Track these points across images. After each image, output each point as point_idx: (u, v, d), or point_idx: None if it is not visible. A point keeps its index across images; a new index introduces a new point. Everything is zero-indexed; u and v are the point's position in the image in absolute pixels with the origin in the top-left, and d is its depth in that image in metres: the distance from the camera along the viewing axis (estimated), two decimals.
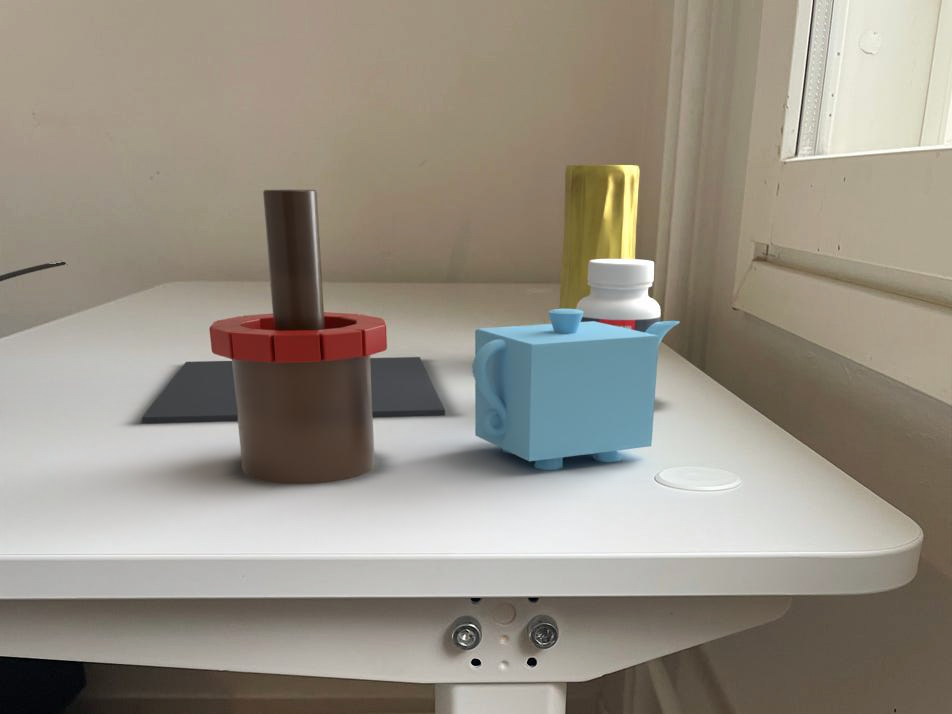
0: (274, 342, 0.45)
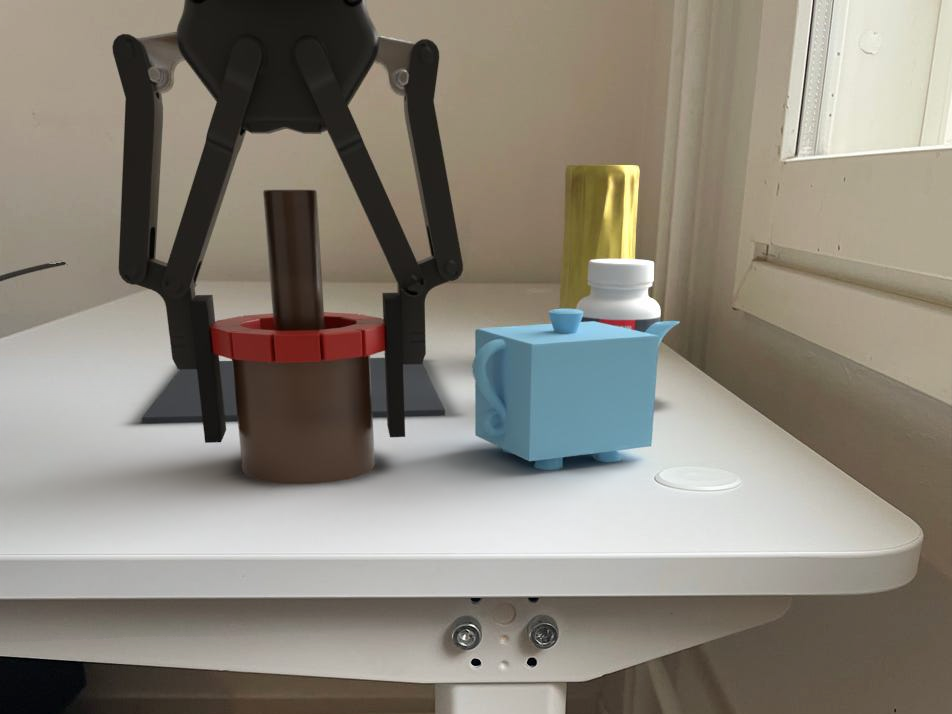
0: (274, 342, 0.45)
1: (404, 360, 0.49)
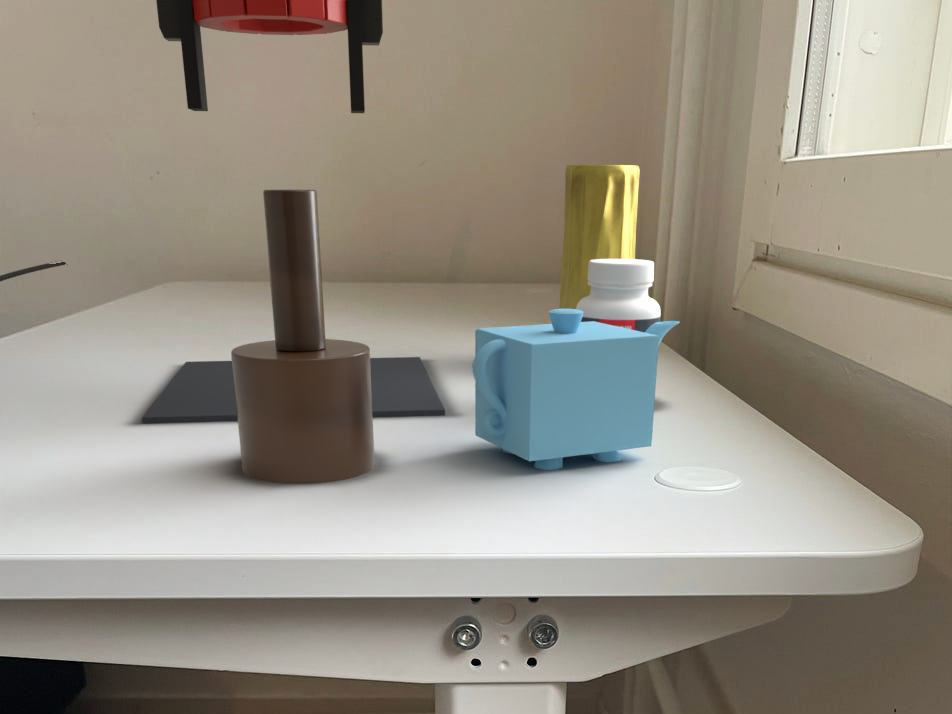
0: None
1: (364, 38, 0.56)
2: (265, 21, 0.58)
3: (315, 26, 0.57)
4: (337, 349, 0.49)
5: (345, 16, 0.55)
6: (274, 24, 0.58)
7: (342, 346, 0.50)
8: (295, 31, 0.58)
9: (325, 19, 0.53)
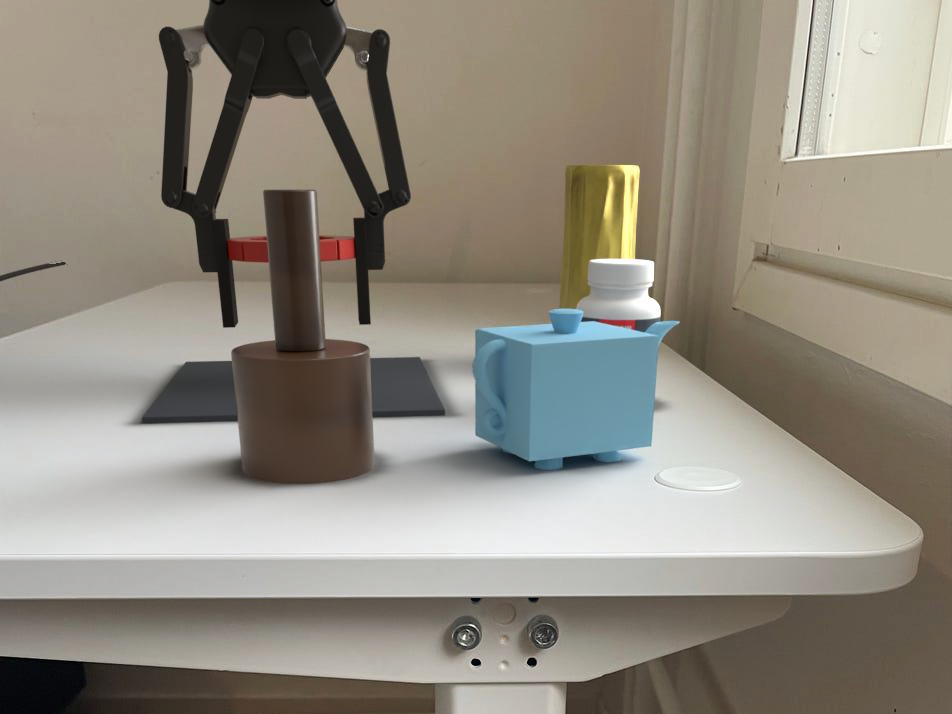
0: None
1: (369, 266, 0.67)
2: None
3: None
4: (337, 349, 0.49)
5: (354, 252, 0.66)
6: None
7: (342, 346, 0.50)
8: None
9: (338, 259, 0.65)
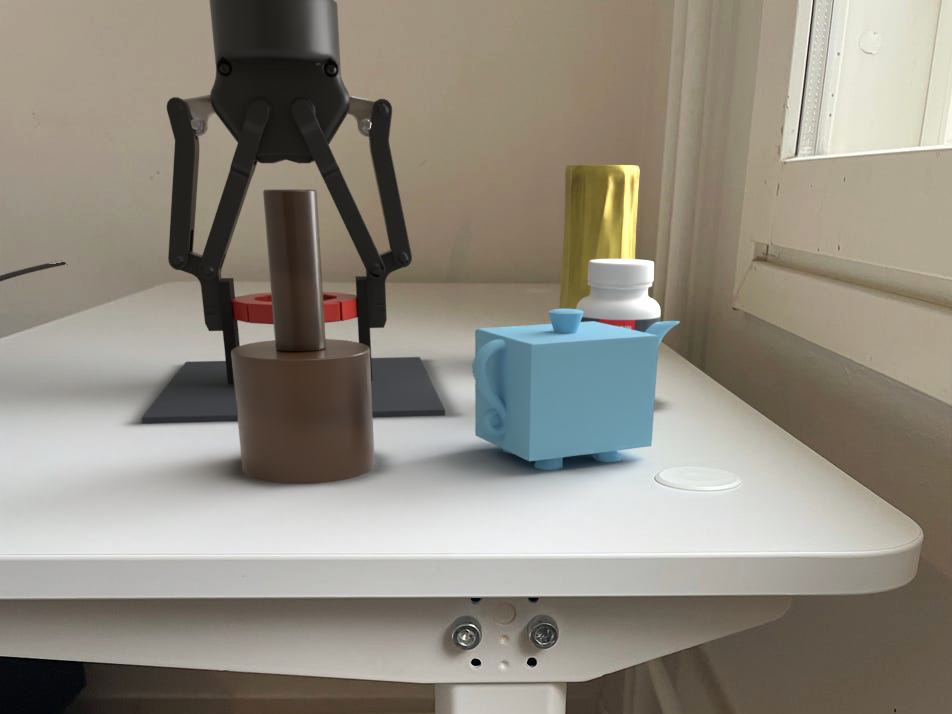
0: None
1: (371, 325, 0.69)
2: None
3: None
4: (337, 349, 0.49)
5: (356, 311, 0.67)
6: None
7: (342, 346, 0.50)
8: None
9: (340, 320, 0.66)
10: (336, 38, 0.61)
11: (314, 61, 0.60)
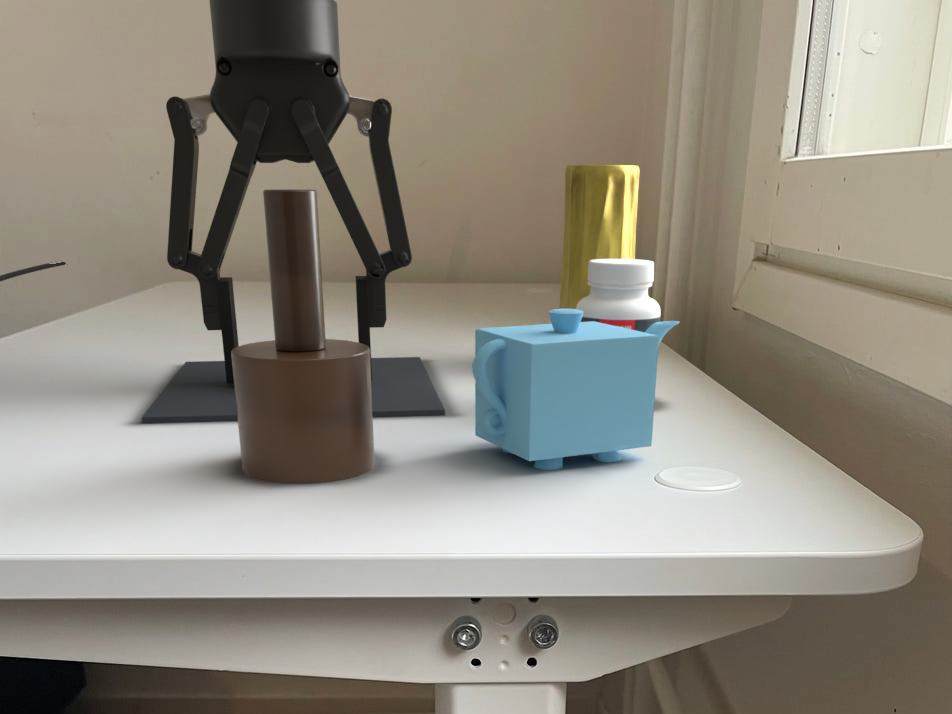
0: None
1: (371, 324, 0.69)
2: None
3: None
4: (337, 349, 0.49)
5: None
6: None
7: (342, 346, 0.50)
8: None
9: None
10: (336, 38, 0.61)
11: (314, 61, 0.60)
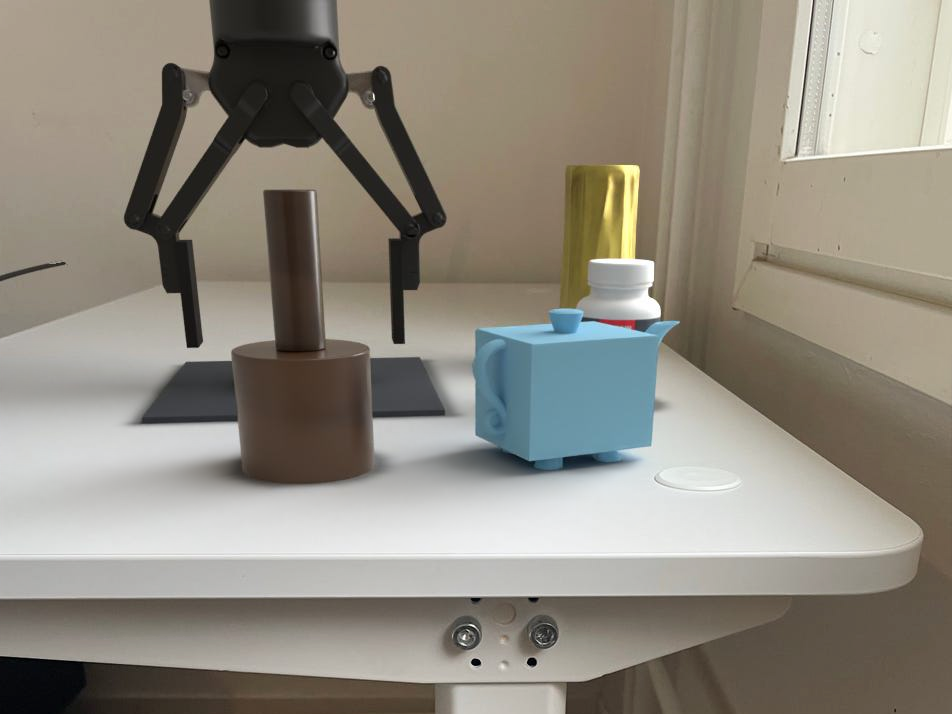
0: None
1: (404, 287, 0.68)
2: None
3: None
4: (337, 349, 0.49)
5: None
6: None
7: (342, 346, 0.50)
8: None
9: None
10: (335, 21, 0.61)
11: (313, 44, 0.60)
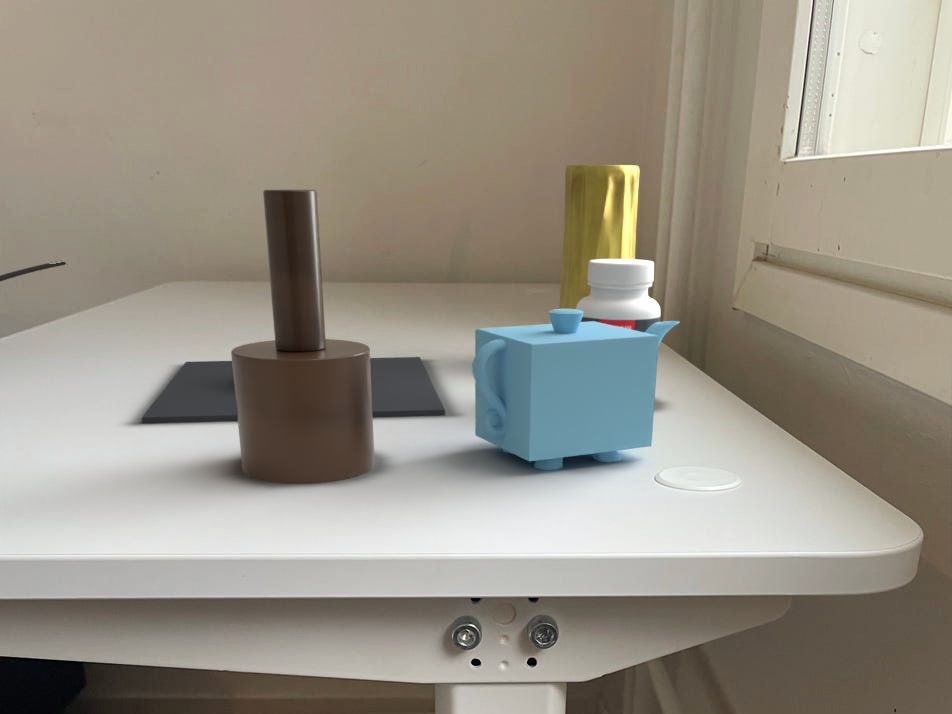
0: None
1: None
2: None
3: None
4: (337, 349, 0.49)
5: None
6: None
7: (342, 346, 0.50)
8: None
9: None
10: None
11: None
